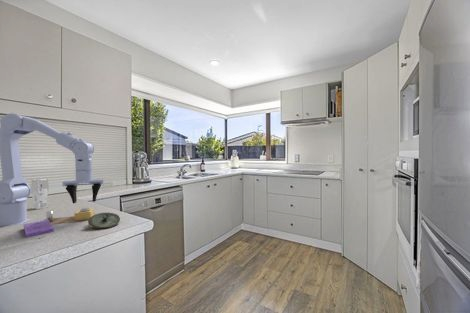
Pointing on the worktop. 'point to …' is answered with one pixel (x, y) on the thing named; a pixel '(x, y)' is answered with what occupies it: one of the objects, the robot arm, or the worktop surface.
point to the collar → (83, 215)
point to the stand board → (64, 218)
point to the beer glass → (39, 193)
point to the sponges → (38, 228)
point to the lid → (103, 220)
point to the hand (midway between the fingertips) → (84, 202)
